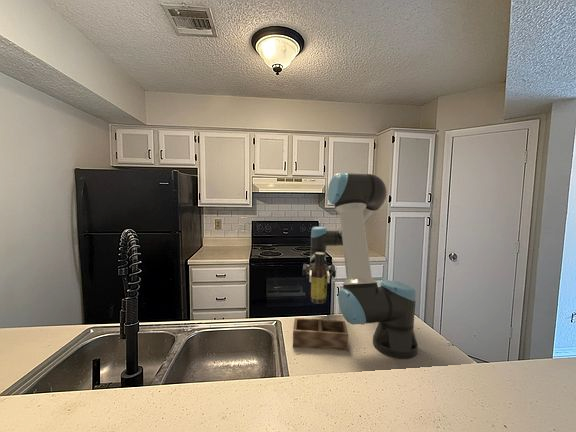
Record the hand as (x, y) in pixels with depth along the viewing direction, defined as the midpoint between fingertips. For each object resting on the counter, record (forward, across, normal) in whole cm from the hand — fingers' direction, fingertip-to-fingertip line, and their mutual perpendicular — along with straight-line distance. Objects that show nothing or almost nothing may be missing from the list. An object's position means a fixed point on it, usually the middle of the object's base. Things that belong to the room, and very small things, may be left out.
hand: (319, 278), depth 105 cm
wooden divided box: (+5, -1, -22) cm, 23 cm away
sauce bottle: (-5, 0, -11) cm, 12 cm away
